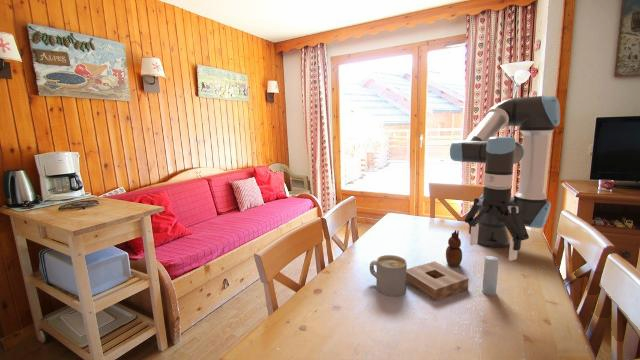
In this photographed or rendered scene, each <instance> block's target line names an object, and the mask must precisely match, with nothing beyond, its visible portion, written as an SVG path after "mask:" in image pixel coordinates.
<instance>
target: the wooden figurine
mask: <svg viewBox="0 0 640 360" xmlns="http://www.w3.org/2000/svg"><path fill="white" fill-rule="evenodd" d="M459 231H460V230H457V229H455V230H454V231H452V233H451V236H450V237H449V238H448V240H447V243H448V244H447V245H448V246H447V247H446V249H445V260H446V264H447V265H448V266H450V267H454V268H456V267H459V266H460V265H461V263H462V260H463V251H462V249H461V246H462V241H461V238H459Z"/></svg>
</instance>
